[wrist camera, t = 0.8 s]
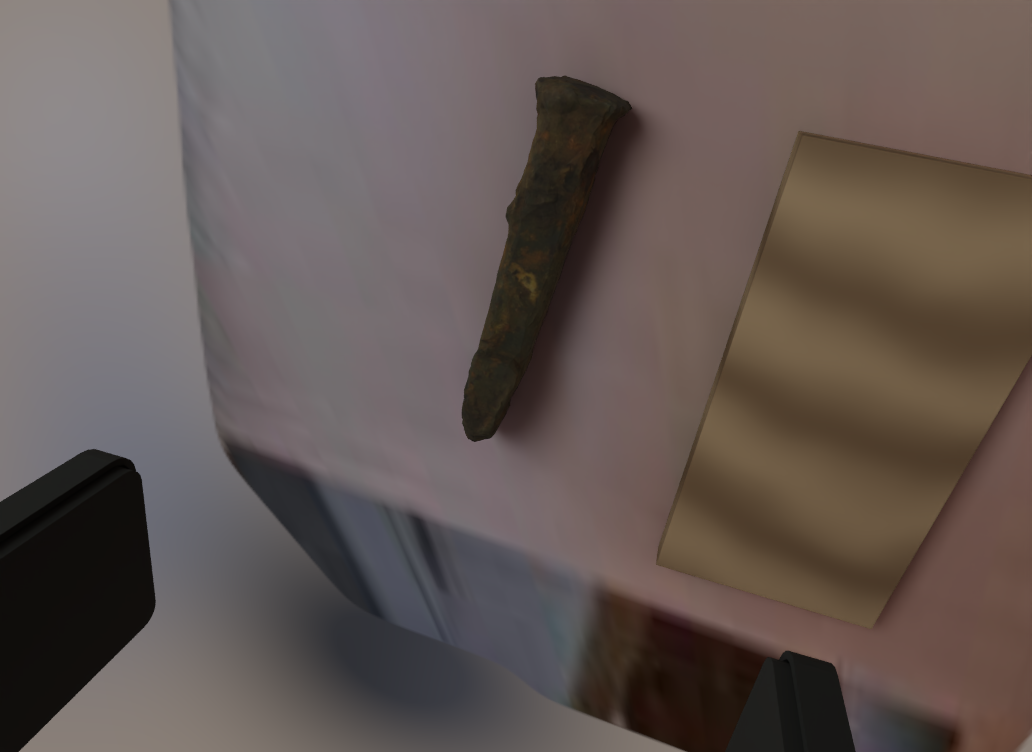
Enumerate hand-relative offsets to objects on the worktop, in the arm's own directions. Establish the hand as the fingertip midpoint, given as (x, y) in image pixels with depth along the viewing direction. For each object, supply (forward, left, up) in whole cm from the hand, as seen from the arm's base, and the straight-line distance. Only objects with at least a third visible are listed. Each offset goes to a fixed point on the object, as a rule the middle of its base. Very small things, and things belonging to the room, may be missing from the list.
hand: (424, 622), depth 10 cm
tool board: (+7, +12, -26) cm, 30 cm away
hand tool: (+4, -3, -27) cm, 27 cm away
